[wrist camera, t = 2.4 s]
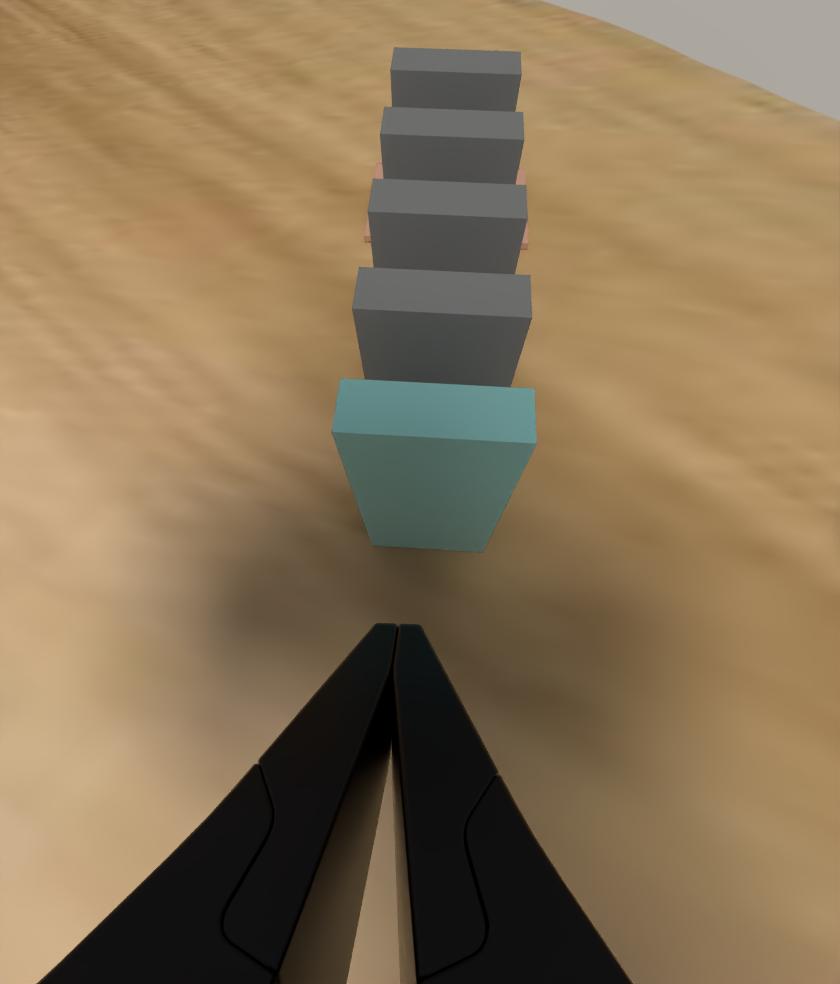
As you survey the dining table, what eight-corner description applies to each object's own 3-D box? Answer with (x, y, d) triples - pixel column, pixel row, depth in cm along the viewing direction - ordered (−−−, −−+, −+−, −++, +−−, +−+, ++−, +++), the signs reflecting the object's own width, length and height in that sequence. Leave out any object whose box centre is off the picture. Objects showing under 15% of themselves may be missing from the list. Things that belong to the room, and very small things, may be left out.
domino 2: (485, 341, 25) (524, 139, 15) (394, 336, 25) (380, 133, 15) (485, 318, 25) (523, 112, 16) (397, 314, 25) (384, 106, 16)
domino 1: (485, 287, 26) (521, 74, 17) (400, 283, 26) (390, 69, 17) (485, 267, 27) (520, 51, 18) (402, 263, 27) (394, 47, 18)
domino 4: (483, 471, 22) (532, 317, 12) (380, 465, 22) (351, 308, 12) (483, 442, 22) (530, 275, 13) (383, 437, 22) (358, 267, 13)
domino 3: (484, 402, 23) (527, 218, 14) (388, 397, 23) (367, 211, 14) (484, 377, 24) (526, 184, 14) (391, 371, 24) (372, 178, 15)
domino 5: (482, 552, 20) (536, 443, 11) (372, 545, 20) (331, 431, 11) (483, 518, 21) (534, 388, 11) (375, 512, 21) (340, 378, 12)
